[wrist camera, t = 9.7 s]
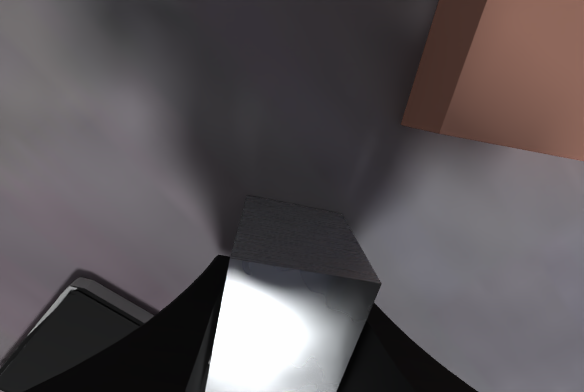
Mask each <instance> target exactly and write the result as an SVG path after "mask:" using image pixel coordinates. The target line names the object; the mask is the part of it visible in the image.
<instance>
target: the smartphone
mask: <svg viewBox="0 0 584 392" xmlns="http://www.w3.org/2000/svg"><path fill="white" fill-rule="evenodd" d="M152 317H154V315H152V314H151V313H149V312H147V311H145V310H144V309H142V308H140V307H139V306H137V305H135V304H133V303H132V302H130V301H128V300H126V299H125V298H123V297H121V296H120V295H118V294H116V293H114V292H113V291H111V290H109V289H108V288H106V287H104V286H102V285H101V284H99V283H97V282H96V281H94V280H90V279H86V278H82V277H79V278H77V279H76V280H75V281H74V282H73V283H71V284H70V285H69V286H68V287H67V288H66V289H65V290H64V292H63V293H62V294H61V295H60V297H59V298H58V299H57V300H56V301H55V303H54V304H53V305H52V306H51V307H50V309H49V310H48V311H47V312H46V314H45V315H44V316H43V317H42V318H41V320H40V321H39V322H38V323H37V324H36V326H35V327H34V328H33V329H32V331H31V332H30V333H29V334H28V335H27V337H26V338H25V339H24V340H23V342H22V343H21V344H20V345H19V346H18V348H17V349H16V350H15V351H14V352H13V354H12V355H11V356H10V357H9V359H8V360H7V361H6V362H5V363H4V365H3V366H2V367H1V368H0V390H2V391H4V392H23V391H26V390H28V389H30V388H32V387H34V386H36V385H38V384H40V383H42V382H44V381H46V380H48V379H50V378H52V377H54V376H56V375H58V374H60V373H63V372H64V371H66V370H68V369H70V368H72V367H74V366H76V365H77V364H79V363H81V362H83V361H84V360H86V359H88V358H90V357H91V356H93V355H95V354H97V353H98V352H100V351H102V350H104V349H105V348H107V347H109V346H111V345H112V344H114V343H115V342H117V341H119V340H120V339H122V338H123V337H125V336H126V335H128V334H129V333H131V332H132V331H134V330H135V329H137V328H138V327H140V326H141V325H143V324H144V323H145V322H147V321H148V320H150V319H151V318H152ZM212 352H213V351H212ZM211 357H212V354H211ZM211 357H210V360H209V363H208V366H207V369H206V372H205V375H204V378H203V381H202V384H201V387H200V391H199V392H205V390H206V384H207V379H208V374H209V368H210V363H211Z"/></svg>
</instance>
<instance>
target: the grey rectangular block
mask: <svg viewBox="0 0 584 392" xmlns="http://www.w3.org/2000/svg"><path fill="white" fill-rule="evenodd" d="M381 284H382V283H381V282H380V280H379V278H378V276H377V275H376V273H375V271H374V269H373V268H372V266H371V264H370V262H369V261H368V259H367V257H366V255H365V254H364V252H363V250H362V248H361V247H360V245H359V243H358V241H357V240H356V238H355V236H354V234H353V233H352V231H351V229H350V227H349V226H348V224H347V222H346V220H345V219H344V217H343V215H342V214H341V213H335V212H330V211H325V210H320V209H315V208H310V207H305V206H300V205H295V204H290V203H285V202H280V201H275V200H270V199H265V198H260V197H255V196H250V195H247V197H246V201H245V205H244V209H243V212H242V216H241V220H240V223H239V227H238V231H237V234H236V238H235V242H234V245H233V249H232V253H231V256H230V261H229V266H228V271H227V277H226V282H225V288H224V293H223V298H222V304H221V309H220V314H219V320H218V325H217V331H216V336H215V341H214V347H213V352H212V357H211V363H210V368H209V374H208V379H207V384H206V390H205V392H336V391H337V389H338V386H339V384H340V382H341V379H342V377H343V374H344V372H345V370H346V367H347V365H348V362H349V360H350V358H351V355H352V353H353V351H354V348H355V346H356V343H357V341H358V339H359V336H360V334H361V331H362V329H363V327H364V324H365V322H366V320H367V317H368V315H369V312H370V310H371V308H372V305H373V303H374V300H375V298H376V296H377V293H378V291H379V289H380V286H381Z"/></svg>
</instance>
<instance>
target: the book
mask: <svg viewBox="0 0 584 392" xmlns="http://www.w3.org/2000/svg"><path fill="white" fill-rule="evenodd" d="M401 125H403V126H408V127H412V128H416V129H421V130H425V131H430V132H434V133H438V134H444V135H449V136H454V137H459V138H465V139H470V140H475V141H480V142H486V143H491V144H496V145H501V146H507V147H512V148H517V149H522V150H528V151H533V152H538V153H543V154H549V155H554V156H559V157H565V158H570V159H575V160H580V161H584V0H439V2H438V5H437V9H436V12H435V15H434V18H433V21H432V25H431V28H430V31H429V34H428V38H427V41H426V44H425V47H424V51H423V54H422V57H421V60H420V64H419V67H418V70H417V73H416V77H415V80H414V83H413V86H412V90H411V93H410V96H409V99H408V102H407V106H406V109H405V112H404V115H403V119H402V122H401Z"/></svg>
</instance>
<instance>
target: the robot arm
mask: <svg viewBox="0 0 584 392" xmlns="http://www.w3.org/2000/svg"><path fill="white" fill-rule="evenodd" d="M229 261H230V257H228V256H222V255H218V256H216V257H215V258H214V260H213V261H212V262H211V264H210V265H209V266H208V267H207V268H206V269H205V271H204V272H203V273H202V274H201V275H200V276H199V277H198V278H197V279H196V280H195V281H194V282H193V283H192V284H191V285H190V286H189V287H188V288H187V289H186V290H185V291H184V292H183V293H181V294H180V295H179V296H178V297H177V298H176V299H175V300H174V301H172V302H171V303H170V304H169V305H168V306H166V307H165V308H164V309H163V310H161V311H160V312H159V313H158V314H156V315H155V316H154V317H152V318H151V319H150V320H148V321H147V322H145V323H144V324H143V325H141V326H140V327H138V328H137V329H135V330H134V331H132V332H131V333H129V334H128V335H126V336H125V337H123V338H122V339H120V340H119V341H117V342H115V343H114V344H112V345H111V346H109V347H107V348H105V349H104V350H102V351H100V352H98V353H97V354H95V355H93V356H91V357H90V358H88V359H86V360H84V361H83V362H81V363H79V364H77V365H76V366H74V367H72V368H70V369H68V370H66V371H64V372H63V373H60V374H58V375H56V376H54V377H52V378H50V379H48V380H46V381H44V382H42V383H40V384H38V385H36V386H34V387H32V388H30V389H28V390H26V391H23V392H199V391H200V387H201V384H202V381H203V378H204V375H205V372H206V369H207V366H208V363H209V360H210V357H211V354H212V351H213V347H214V341H215V336H216V331H217V325H218V320H219V314H220V309H221V304H222V298H223V293H224V288H225V282H226V277H227V271H228V266H229ZM336 392H478V391H476V390H475V389H473V388H472V387H471V386H469V385H468V384H466V383H465V382H464V381H462V380H461V379H460V378H458V377H457V376H456V375H454V374H453V373H452V372H450V371H449V370H448V369H446V368H445V367H444V366H442V365H441V364H440V363H439V362H437V361H436V360H435V359H434V358H432V357H431V356H430V355H429V354H428V353H426V352H425V351H424V350H423V349H422V348H421V347H419V346H418V345H417V344H416V343H415V342H414V341H412V340H411V339H410V338H409V337H408V336H407V335H406V334H405V333H404V332H403V331H402V330H401V329H400V328H399V327H398V326H397V325H395V324H394V323H393V322H392V321H391V320H390V319H389V318H388V317H387V316H386V315H385V313H384V312H383V311H382V310H381V309H380V308H379V307H378V306H377V305H376V304H375V303H373V305H372V308H371V310H370V312H369V315H368V317H367V320H366V322H365V324H364V327H363V329H362V331H361V334H360V336H359V339H358V341H357V343H356V346H355V348H354V351H353V353H352V355H351V358H350V360H349V362H348V365H347V367H346V370H345V372H344V374H343V377H342V379H341V382H340V384H339V386H338V389H337V391H336Z"/></svg>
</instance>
